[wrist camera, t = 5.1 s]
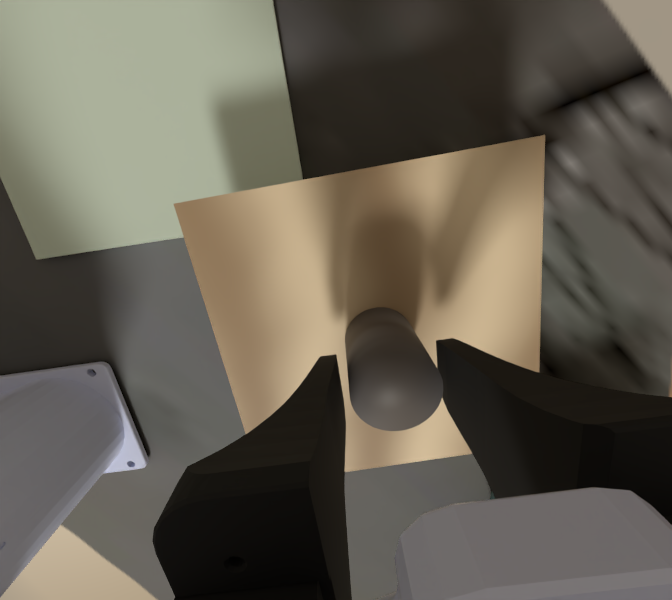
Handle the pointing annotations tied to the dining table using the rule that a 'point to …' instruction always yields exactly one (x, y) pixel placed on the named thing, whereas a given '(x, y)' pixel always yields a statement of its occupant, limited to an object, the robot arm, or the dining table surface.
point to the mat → (137, 114)
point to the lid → (375, 287)
